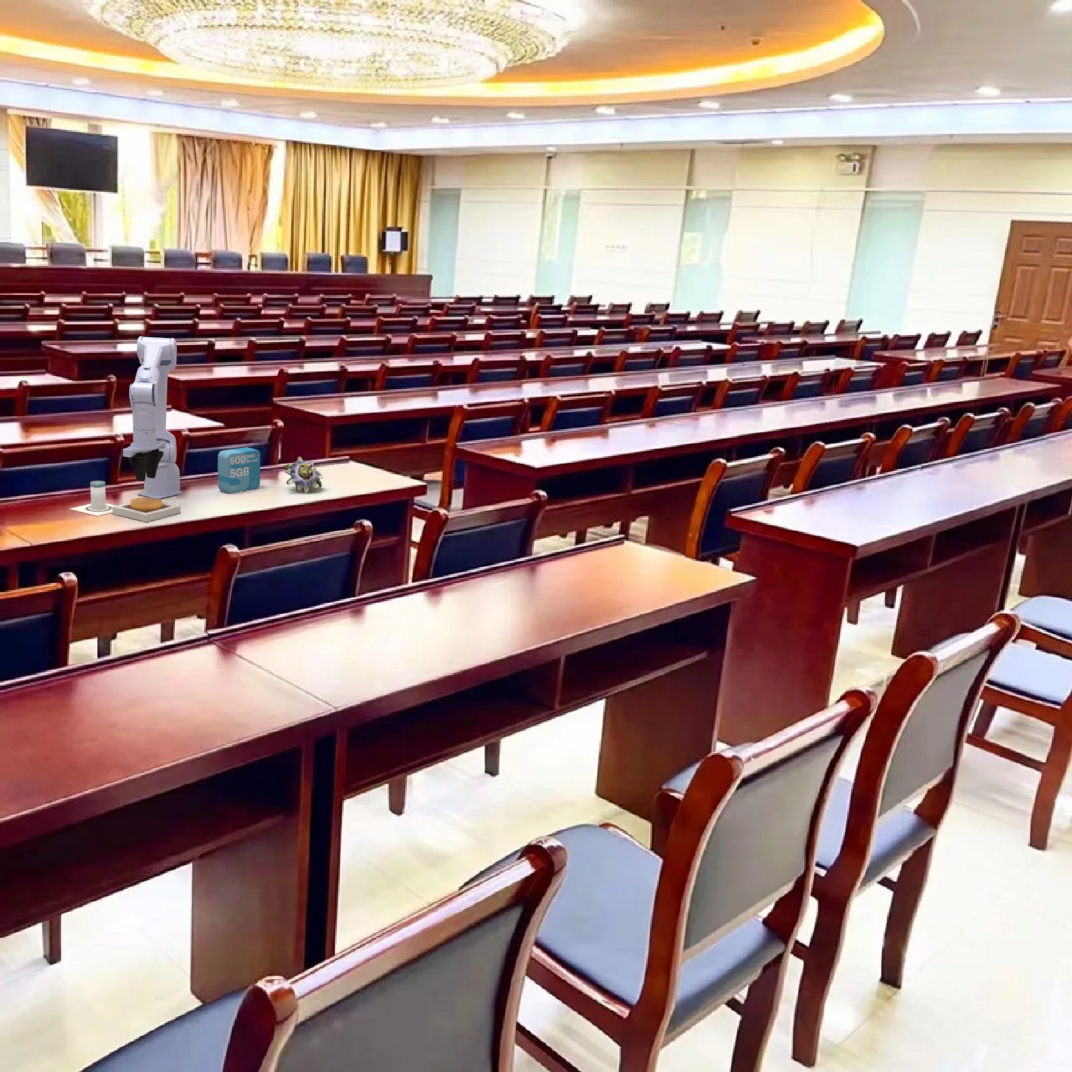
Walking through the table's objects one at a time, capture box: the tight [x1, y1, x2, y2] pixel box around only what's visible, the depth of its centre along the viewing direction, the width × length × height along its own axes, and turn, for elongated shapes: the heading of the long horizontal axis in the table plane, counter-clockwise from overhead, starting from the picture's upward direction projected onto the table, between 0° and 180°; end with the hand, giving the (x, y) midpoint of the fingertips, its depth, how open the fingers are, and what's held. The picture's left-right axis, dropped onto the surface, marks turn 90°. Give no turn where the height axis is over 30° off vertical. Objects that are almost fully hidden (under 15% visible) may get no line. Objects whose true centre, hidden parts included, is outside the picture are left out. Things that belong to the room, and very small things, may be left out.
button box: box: [111, 501, 181, 523], centre depth 276 cm, size 12×12×2 cm
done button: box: [129, 497, 164, 511], centre depth 275 cm, size 8×8×2 cm
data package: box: [217, 447, 261, 494], centre depth 306 cm, size 12×4×12 cm, turn 145°
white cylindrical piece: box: [89, 480, 107, 510], centre depth 275 cm, size 4×4×7 cm
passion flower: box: [283, 456, 324, 493], centre depth 313 cm, size 11×11×12 cm
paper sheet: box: [69, 502, 117, 517], centre depth 276 cm, size 10×10×1 cm
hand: (145, 479), depth 273 cm, fingers open, 3 cm apart
